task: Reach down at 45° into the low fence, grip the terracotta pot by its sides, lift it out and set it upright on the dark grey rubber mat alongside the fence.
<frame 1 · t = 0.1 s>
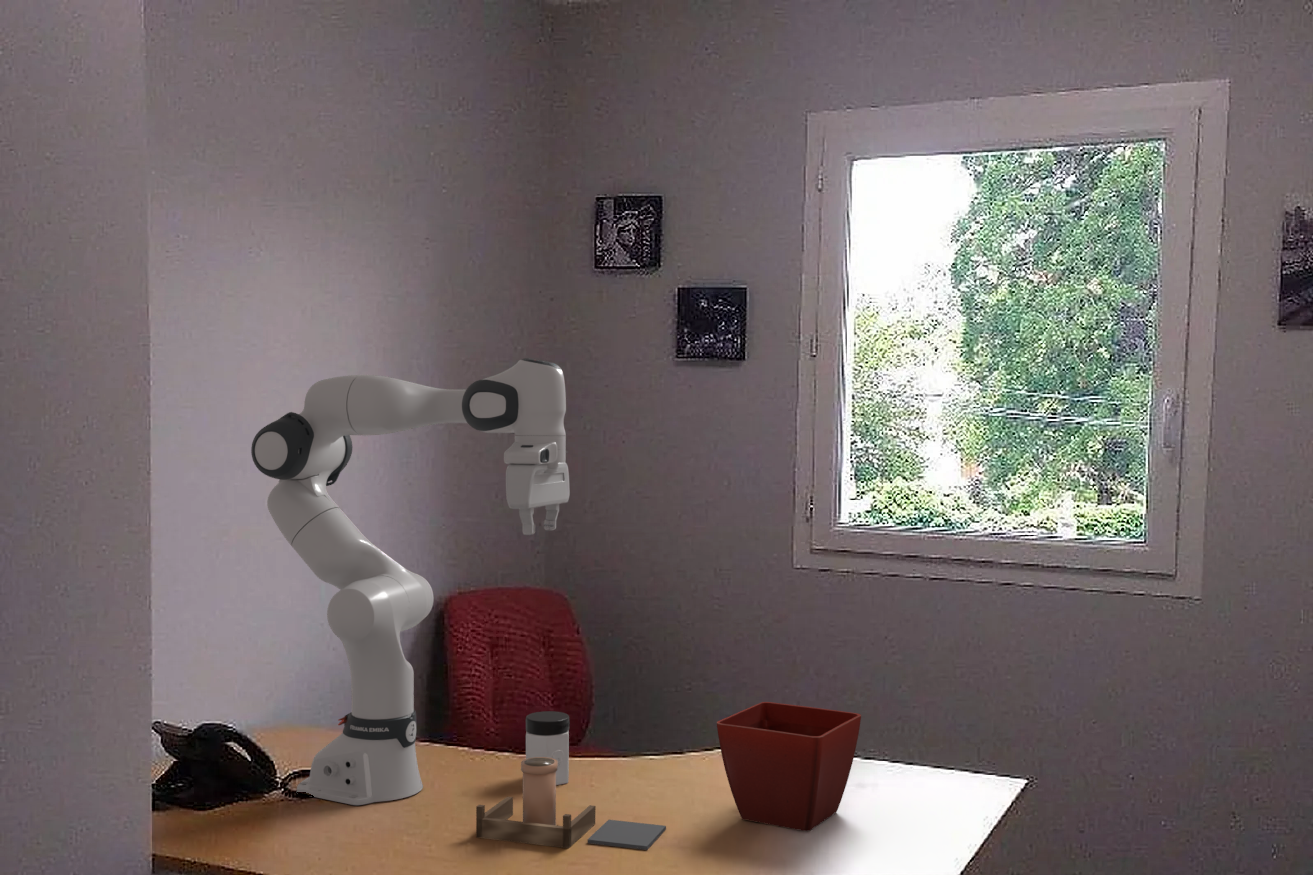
hand: (539, 532, 207), 48 cm above the table, tool pointing down, fingers open, 8 cm apart
mat: (627, 836, 194), on the table
pot: (539, 828, 197), on the table
plant pot: (789, 817, 204), on the table
low fence: (538, 829, 197), on the table
jar: (547, 781, 224), on the table
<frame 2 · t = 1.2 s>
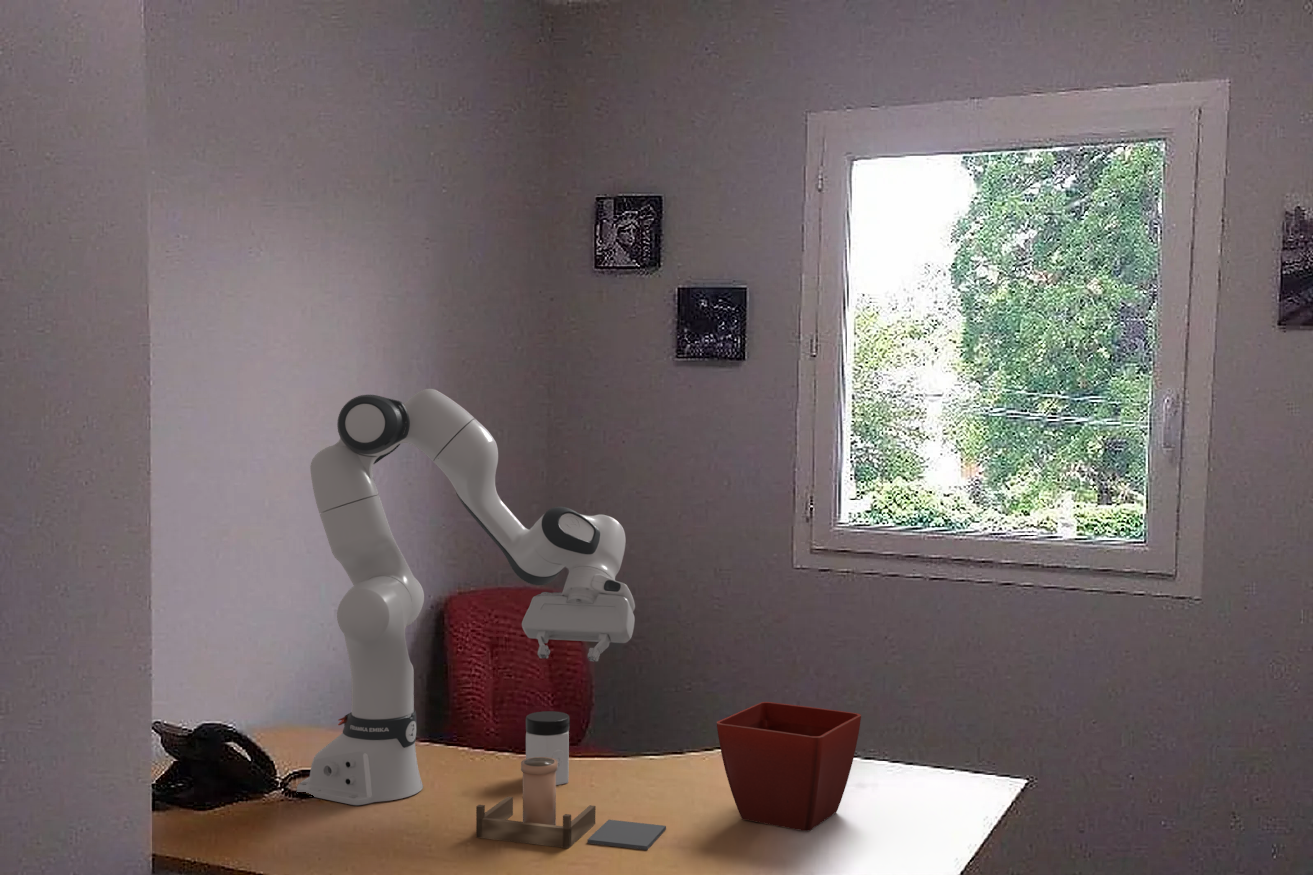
hand: (567, 658, 208), 26 cm above the table, tool tilted 45°, fingers open, 8 cm apart
nothing on the table moved.
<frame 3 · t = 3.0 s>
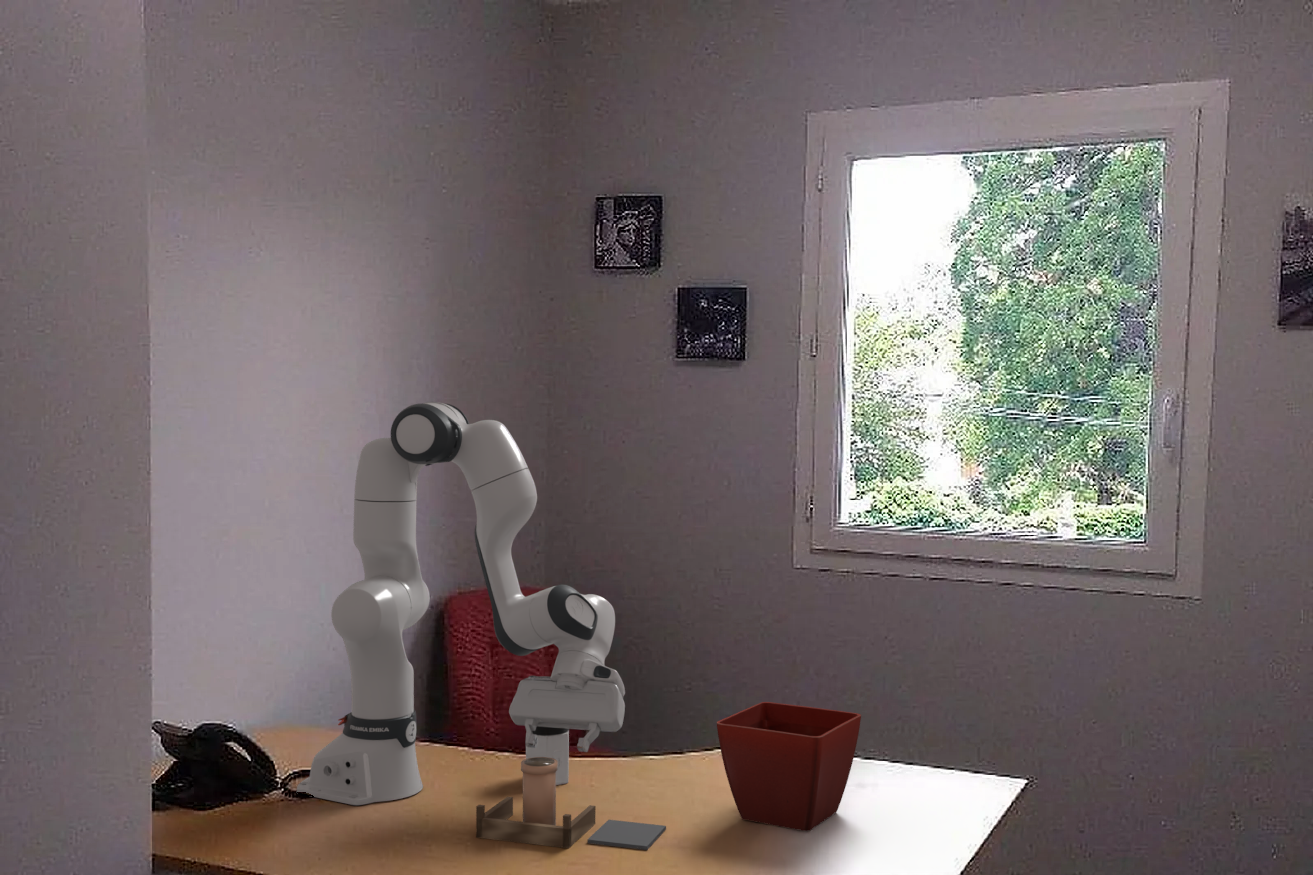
hand: (555, 748, 203), 12 cm above the table, tool tilted 45°, fingers open, 8 cm apart
nothing on the table moved.
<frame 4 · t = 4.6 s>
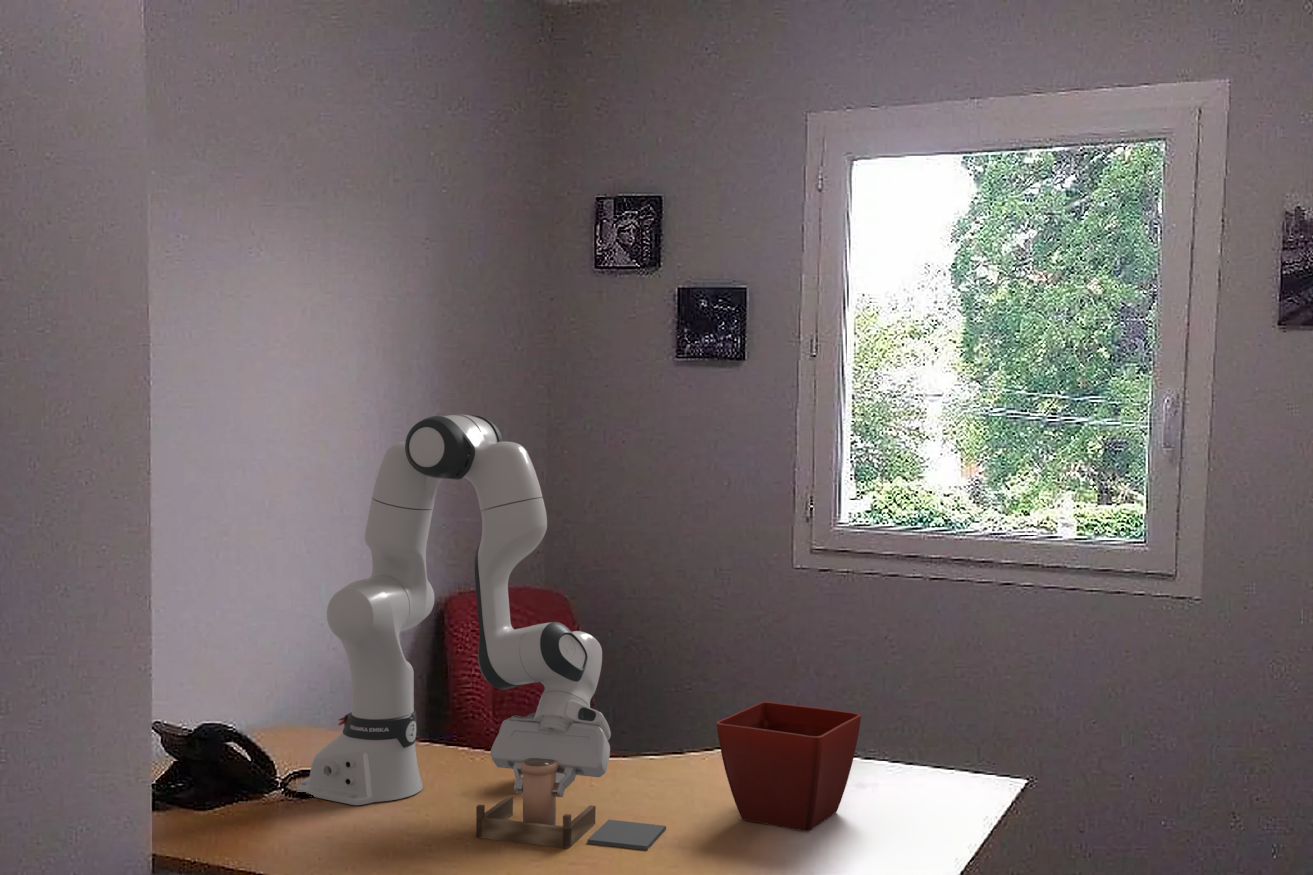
hand: (537, 793, 196), 6 cm above the table, tool tilted 45°, fingers closed on pot, 5 cm apart
pot: (539, 828, 197), on the table, touching gripper
everything else where it was.
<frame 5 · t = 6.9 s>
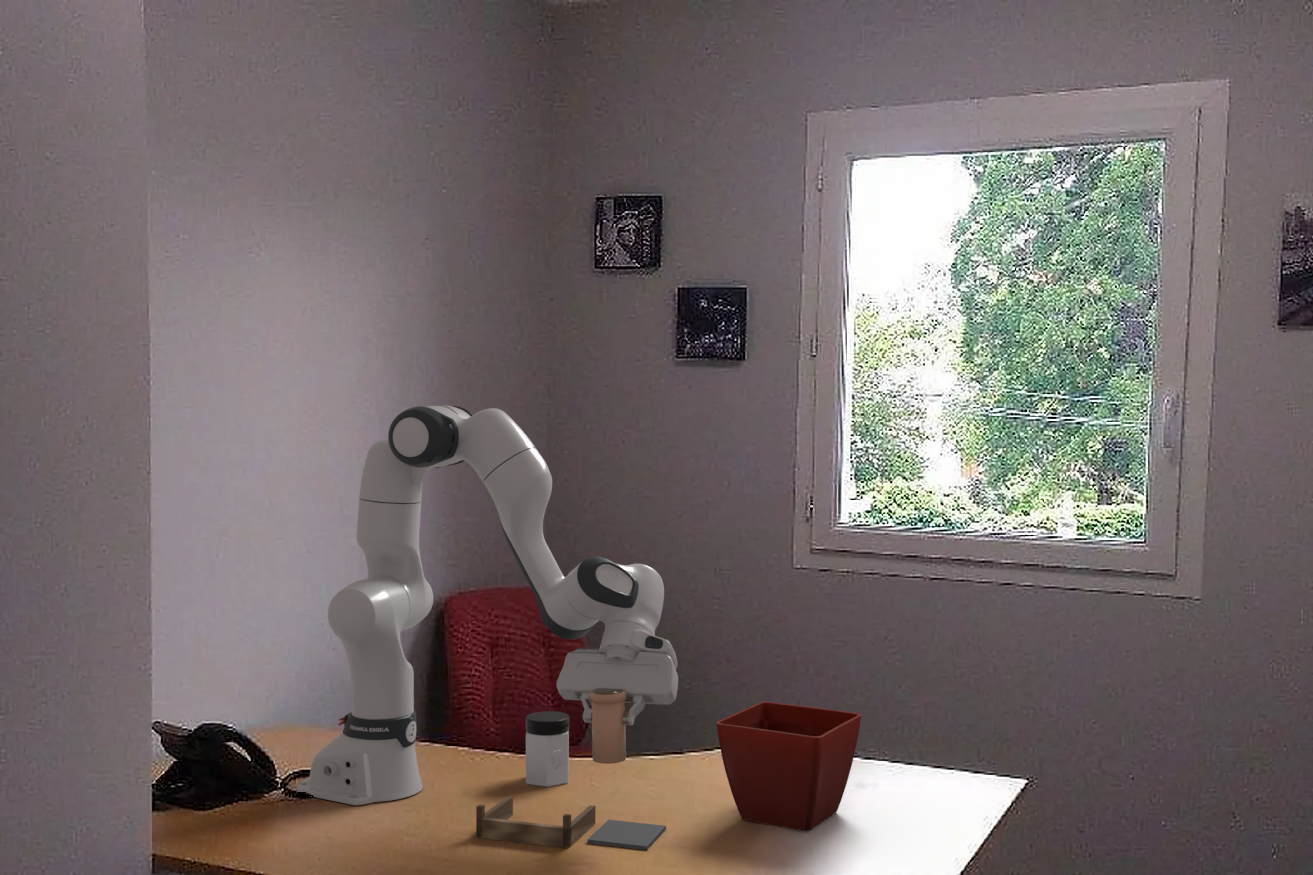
hand: (607, 722, 193), 18 cm above the table, tool tilted 45°, fingers closed on pot, 5 cm apart
pot: (609, 759, 194), point 12 cm above the table, touching gripper
everything else where it was.
when the fingers open (8 cm above the table, at t = 9.5 s): pot stays where it is, resting on mat.
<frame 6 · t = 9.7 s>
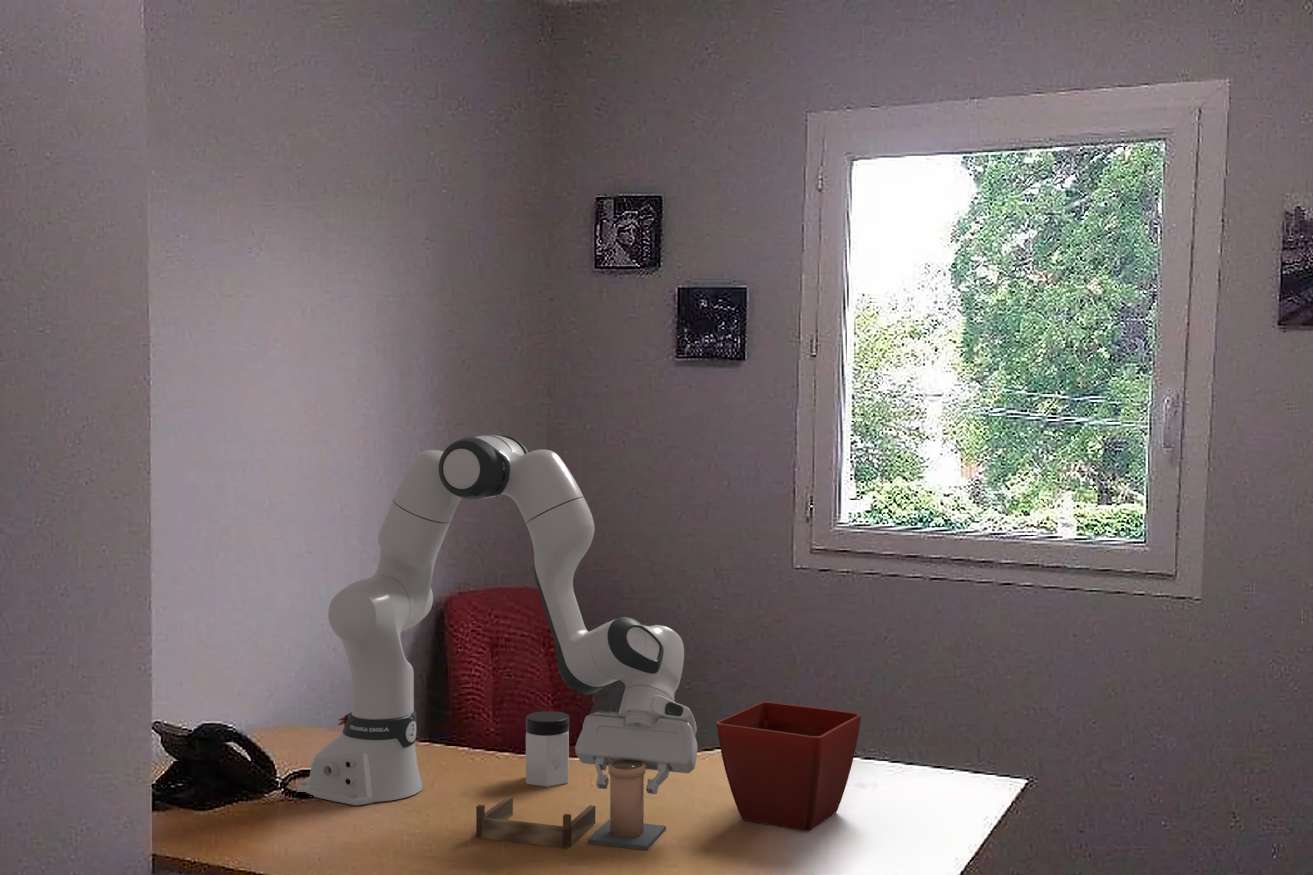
hand: (626, 789, 193), 8 cm above the table, tool tilted 45°, fingers open, 7 cm apart
pot: (626, 832, 194), point 1 cm above the table, touching mat
everything else where it was.
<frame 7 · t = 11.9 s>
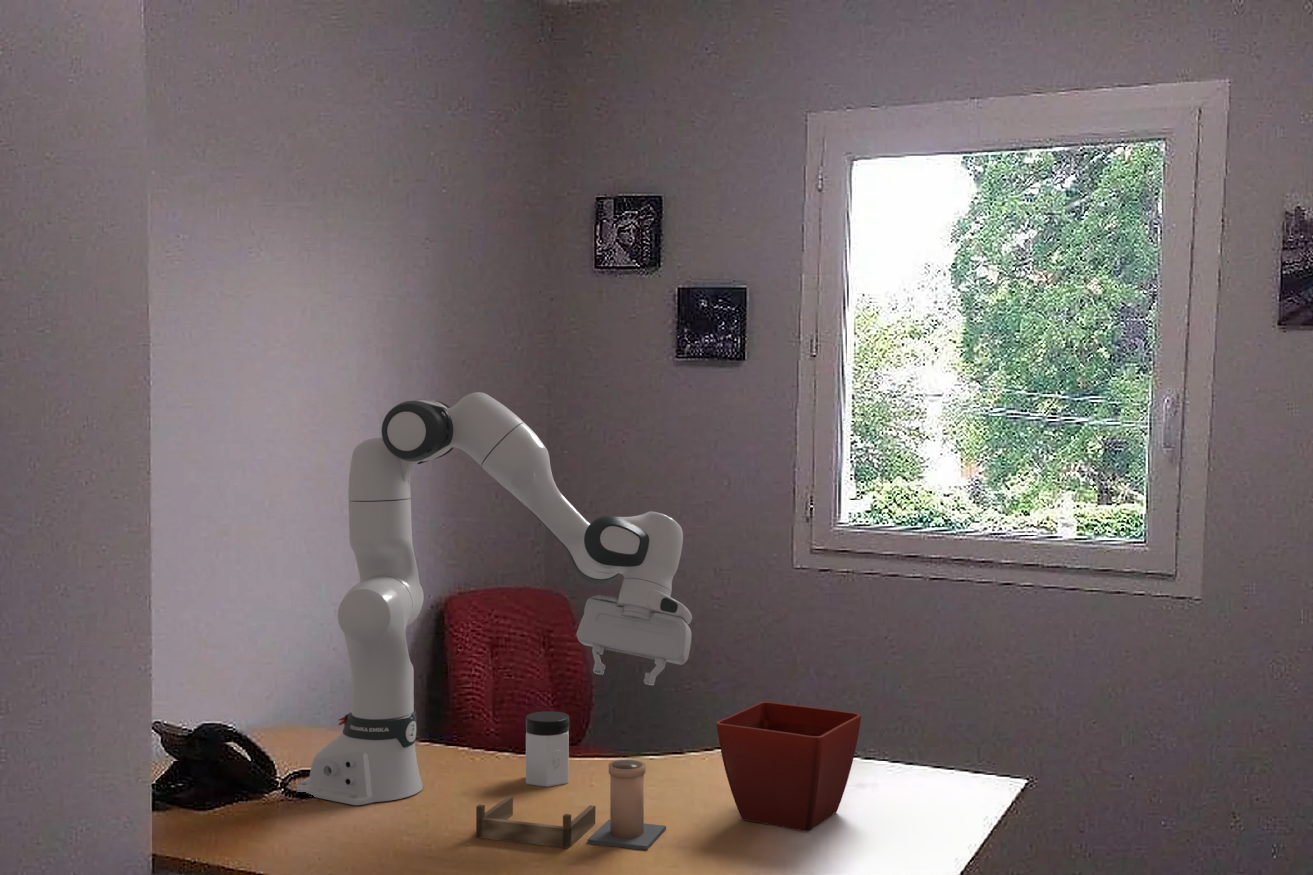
hand: (622, 678, 207), 23 cm above the table, tool tilted 25°, fingers open, 8 cm apart
nothing on the table moved.
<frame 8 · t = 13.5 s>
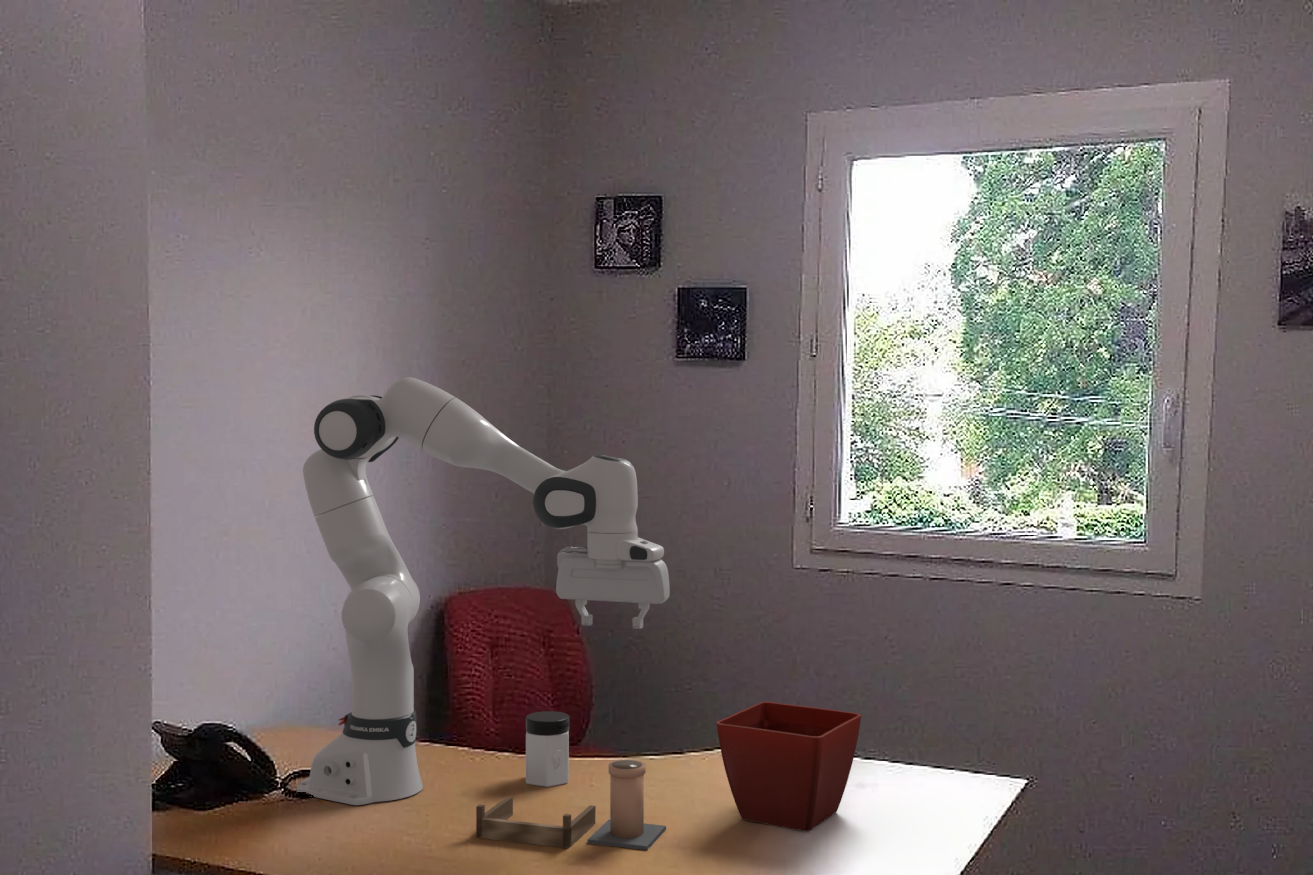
hand: (612, 626, 210), 31 cm above the table, tool pointing down, fingers open, 8 cm apart
nothing on the table moved.
at the end: pot inside the target area on the mat (0.1 cm from its centre), point 0.6 cm above the mat's base; pot tilted 0°; the gripper is holding nothing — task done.
